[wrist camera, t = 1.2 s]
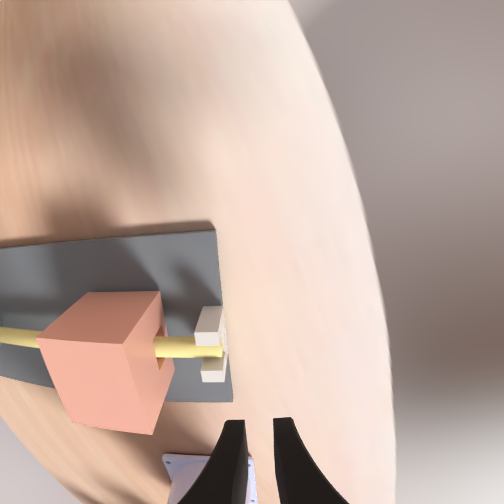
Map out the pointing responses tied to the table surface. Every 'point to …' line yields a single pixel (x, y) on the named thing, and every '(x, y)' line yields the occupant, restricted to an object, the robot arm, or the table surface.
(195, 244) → the cord rig
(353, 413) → the table surface
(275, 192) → the table surface
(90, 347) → the marker sleeve
